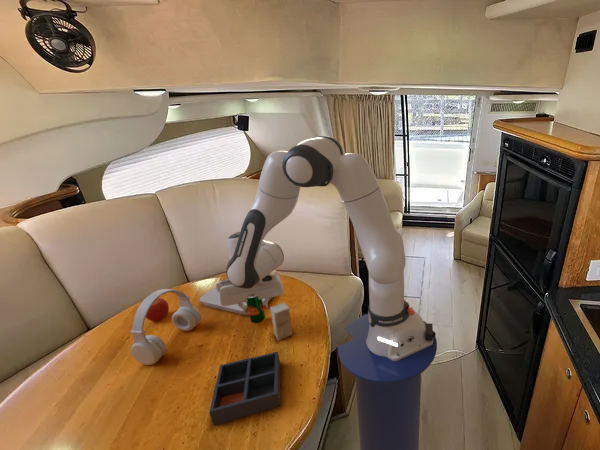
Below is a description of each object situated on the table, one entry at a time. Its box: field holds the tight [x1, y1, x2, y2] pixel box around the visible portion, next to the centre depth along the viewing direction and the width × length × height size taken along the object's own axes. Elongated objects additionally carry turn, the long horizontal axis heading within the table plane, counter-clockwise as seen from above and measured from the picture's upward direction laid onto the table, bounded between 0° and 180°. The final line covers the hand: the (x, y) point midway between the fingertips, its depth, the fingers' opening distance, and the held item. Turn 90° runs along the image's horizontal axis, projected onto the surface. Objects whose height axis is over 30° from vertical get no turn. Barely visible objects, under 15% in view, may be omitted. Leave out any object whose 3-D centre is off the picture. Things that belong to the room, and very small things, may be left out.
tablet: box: [199, 287, 274, 316], centre depth 127 cm, size 16×26×2 cm, turn 72°
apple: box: [145, 297, 170, 322], centre depth 115 cm, size 8×8×8 cm
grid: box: [208, 351, 281, 426], centre depth 86 cm, size 16×16×5 cm
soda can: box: [246, 294, 266, 324], centre depth 111 cm, size 5×5×12 cm
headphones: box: [130, 288, 203, 366], centre depth 100 cm, size 20×8×19 cm, turn 173°
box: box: [269, 302, 293, 341], centre depth 106 cm, size 5×4×11 cm
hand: (256, 309), depth 112 cm, fingers closed on soda can, 5 cm apart
